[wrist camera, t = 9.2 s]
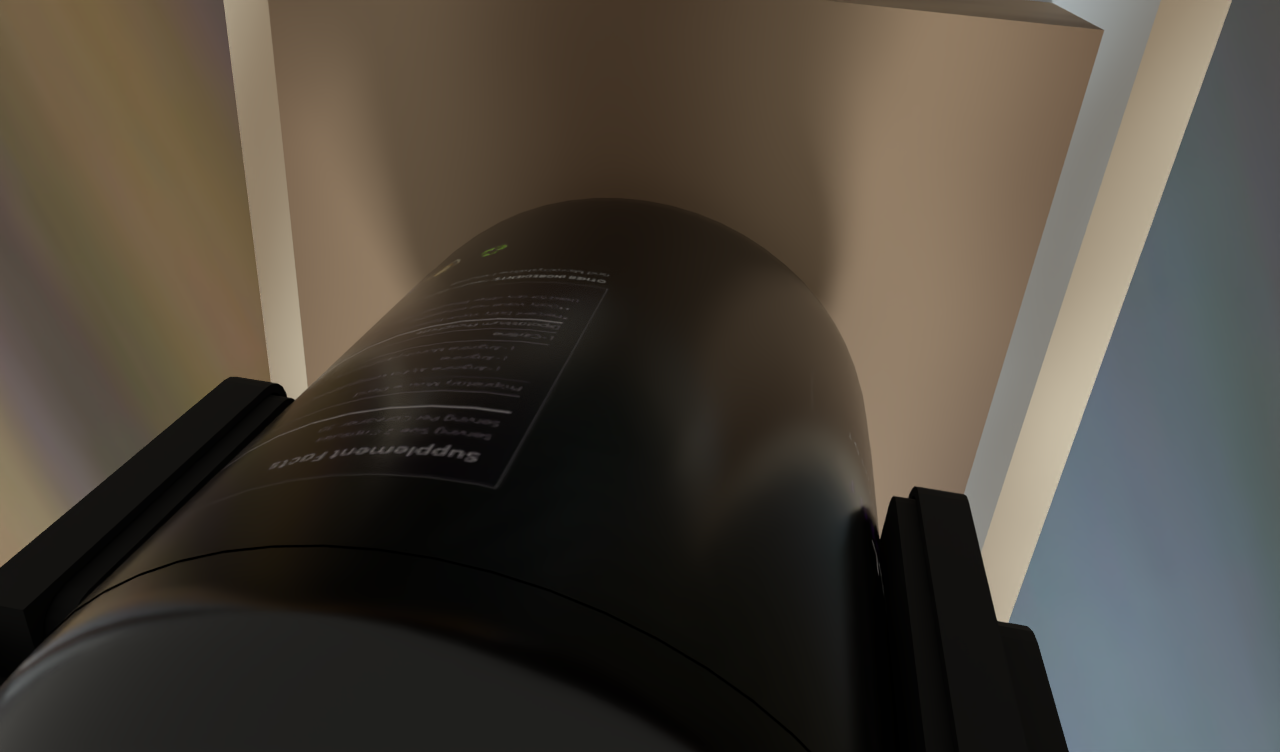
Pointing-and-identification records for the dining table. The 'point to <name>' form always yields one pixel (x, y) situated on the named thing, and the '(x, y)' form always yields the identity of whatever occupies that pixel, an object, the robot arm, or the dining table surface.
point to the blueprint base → (754, 183)
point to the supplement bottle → (518, 528)
